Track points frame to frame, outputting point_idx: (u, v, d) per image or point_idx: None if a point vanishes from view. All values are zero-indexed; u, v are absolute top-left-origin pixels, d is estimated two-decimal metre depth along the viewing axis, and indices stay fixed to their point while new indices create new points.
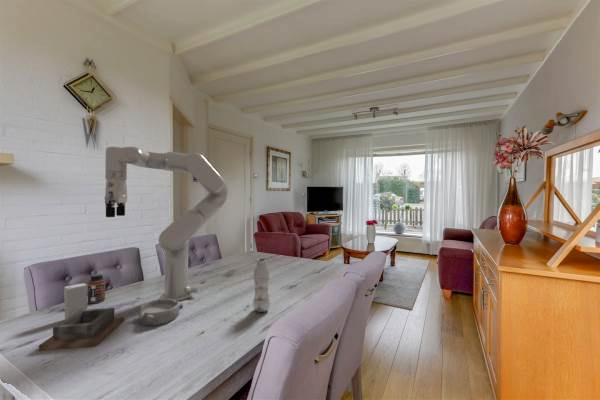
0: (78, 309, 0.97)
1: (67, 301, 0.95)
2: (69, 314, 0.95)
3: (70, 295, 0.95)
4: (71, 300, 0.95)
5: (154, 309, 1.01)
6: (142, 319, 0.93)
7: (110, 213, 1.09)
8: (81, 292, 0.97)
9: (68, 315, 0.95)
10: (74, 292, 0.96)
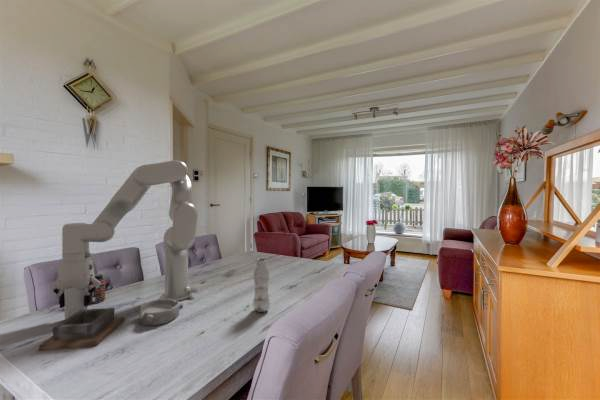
0: (78, 309, 0.97)
1: (67, 301, 0.95)
2: (69, 314, 0.95)
3: (70, 295, 0.95)
4: (71, 300, 0.95)
5: (154, 309, 1.01)
6: (142, 319, 0.93)
7: (91, 300, 0.99)
8: (81, 292, 0.97)
9: (68, 315, 0.95)
10: (74, 292, 0.96)
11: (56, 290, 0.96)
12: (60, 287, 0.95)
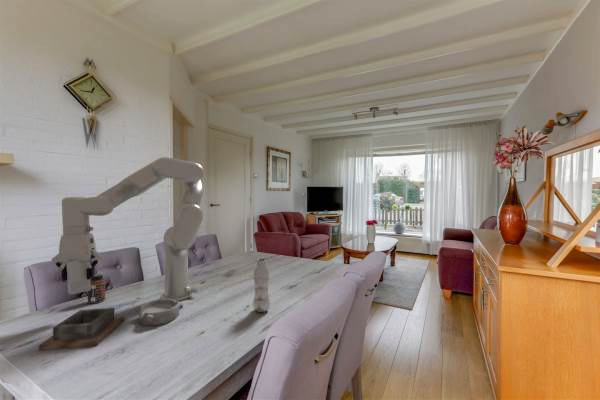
0: (81, 282, 0.97)
1: (69, 274, 0.95)
2: (72, 287, 0.95)
3: (72, 268, 0.95)
4: (73, 273, 0.96)
5: (154, 309, 1.01)
6: (142, 319, 0.93)
7: (93, 273, 1.00)
8: (83, 265, 0.98)
9: (71, 288, 0.95)
10: (76, 265, 0.96)
11: (58, 263, 0.96)
12: (62, 260, 0.96)
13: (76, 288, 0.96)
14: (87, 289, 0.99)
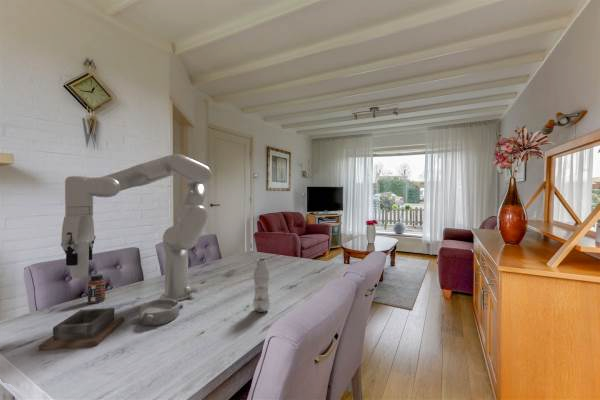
0: None
1: (88, 254, 0.94)
2: None
3: None
4: None
5: (154, 309, 1.01)
6: (142, 319, 0.93)
7: None
8: None
9: None
10: None
11: (70, 247, 0.88)
12: (78, 242, 0.90)
13: None
14: None
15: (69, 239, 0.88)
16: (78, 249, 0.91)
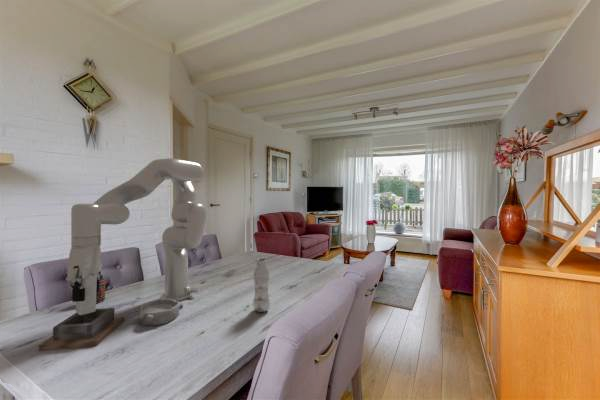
0: None
1: None
2: (95, 302, 0.87)
3: None
4: (95, 287, 0.87)
5: (154, 309, 1.01)
6: (142, 319, 0.93)
7: None
8: None
9: (95, 303, 0.87)
10: None
11: (77, 282, 0.81)
12: (86, 276, 0.84)
13: None
14: None
15: (76, 273, 0.81)
16: (85, 283, 0.84)
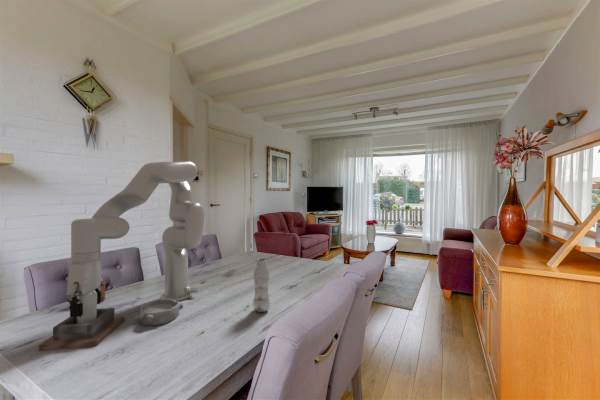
0: None
1: (96, 305, 0.87)
2: None
3: None
4: None
5: (154, 309, 1.01)
6: (142, 319, 0.93)
7: None
8: None
9: None
10: None
11: (75, 298, 0.80)
12: (86, 292, 0.84)
13: None
14: None
15: (76, 287, 0.81)
16: (85, 301, 0.84)
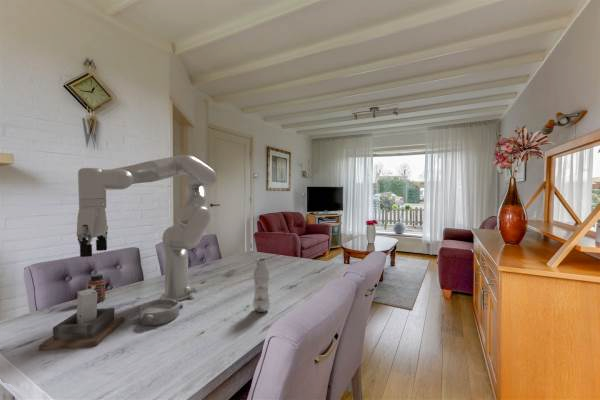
0: None
1: (96, 305, 0.87)
2: None
3: None
4: None
5: (154, 309, 1.01)
6: (142, 319, 0.93)
7: None
8: None
9: None
10: None
11: (85, 238, 0.87)
12: (94, 234, 0.90)
13: None
14: None
15: (85, 229, 0.87)
16: (86, 301, 0.85)
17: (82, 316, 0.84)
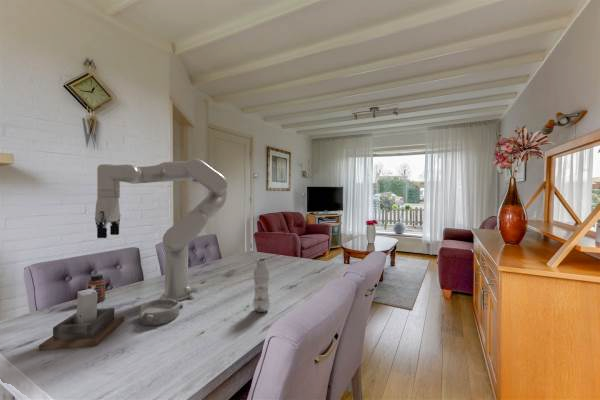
0: None
1: (96, 305, 0.87)
2: None
3: None
4: None
5: (154, 309, 1.01)
6: (142, 319, 0.93)
7: None
8: None
9: None
10: None
11: (101, 222, 1.04)
12: (109, 220, 1.07)
13: None
14: None
15: (102, 214, 1.05)
16: (86, 301, 0.85)
17: (82, 316, 0.84)
